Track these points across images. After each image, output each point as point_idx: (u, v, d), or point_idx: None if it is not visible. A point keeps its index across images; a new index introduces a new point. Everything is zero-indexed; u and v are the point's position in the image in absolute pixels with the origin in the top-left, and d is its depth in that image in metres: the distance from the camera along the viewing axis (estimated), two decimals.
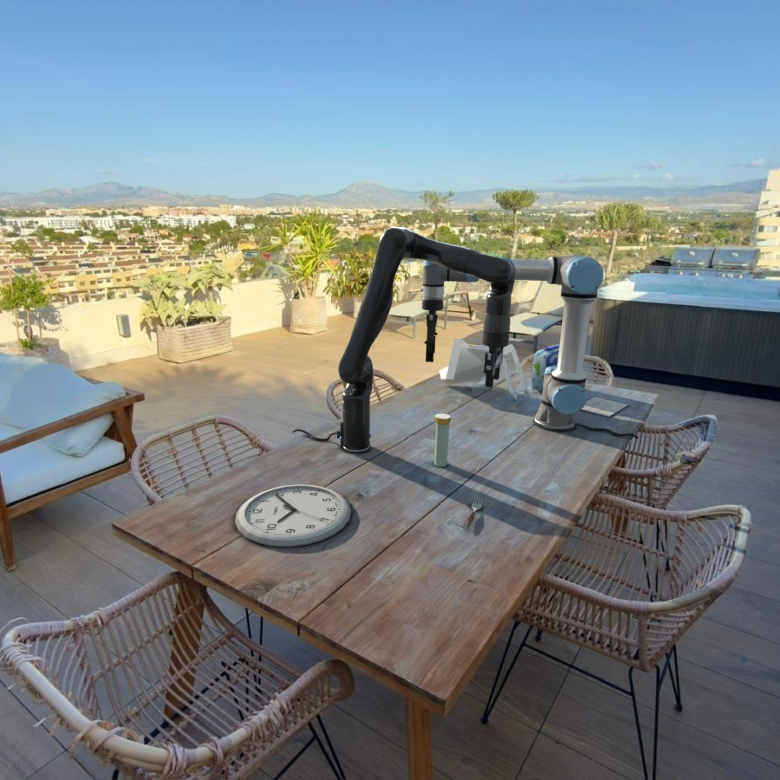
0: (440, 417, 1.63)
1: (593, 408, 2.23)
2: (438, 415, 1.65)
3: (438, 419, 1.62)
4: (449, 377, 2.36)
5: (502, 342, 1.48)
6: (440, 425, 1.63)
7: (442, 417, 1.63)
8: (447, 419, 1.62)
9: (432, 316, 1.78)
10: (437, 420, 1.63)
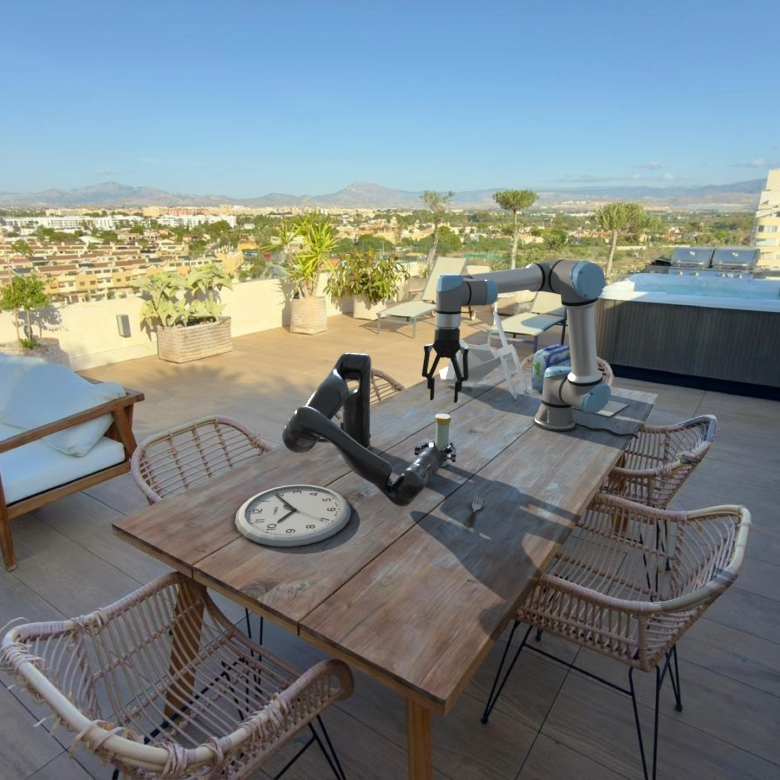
0: (440, 417, 1.63)
1: None
2: (438, 415, 1.65)
3: (438, 419, 1.62)
4: (449, 377, 2.36)
5: (439, 453, 1.56)
6: (440, 425, 1.63)
7: (442, 417, 1.63)
8: (447, 419, 1.62)
9: None
10: (437, 420, 1.63)
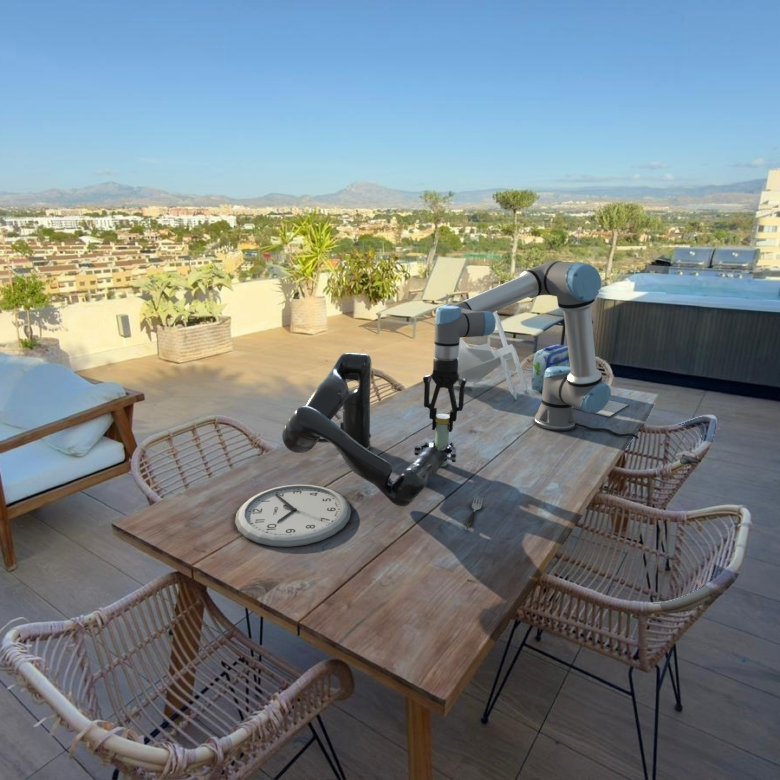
0: (440, 417, 1.63)
1: None
2: (438, 415, 1.65)
3: (438, 419, 1.62)
4: None
5: (439, 453, 1.56)
6: (440, 425, 1.63)
7: (442, 417, 1.63)
8: (447, 419, 1.62)
9: None
10: (437, 420, 1.63)
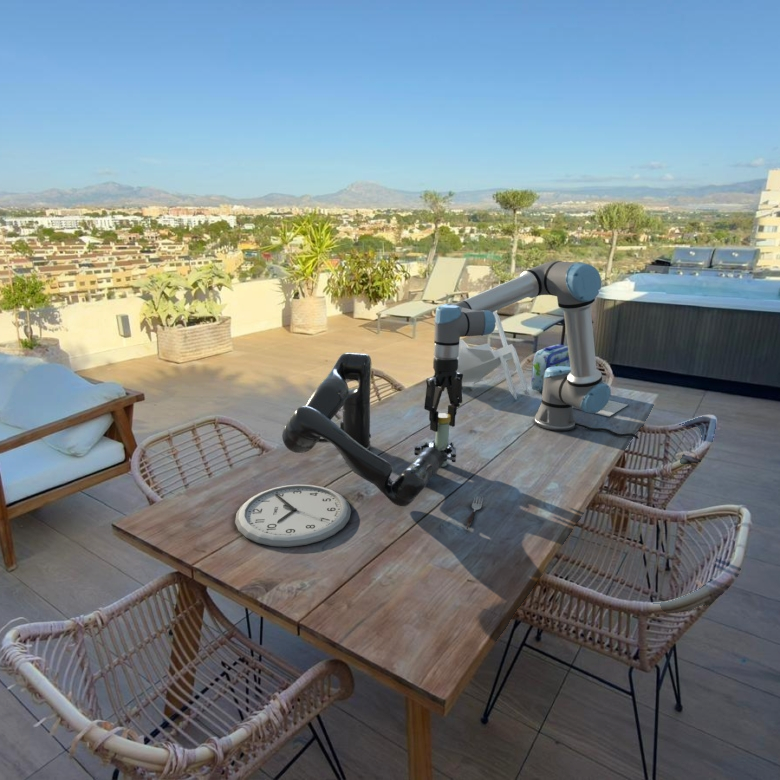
0: (447, 416, 1.63)
1: None
2: (442, 417, 1.63)
3: (450, 418, 1.63)
4: None
5: (439, 453, 1.56)
6: (440, 425, 1.63)
7: (446, 415, 1.64)
8: None
9: (429, 381, 1.56)
10: (449, 419, 1.63)
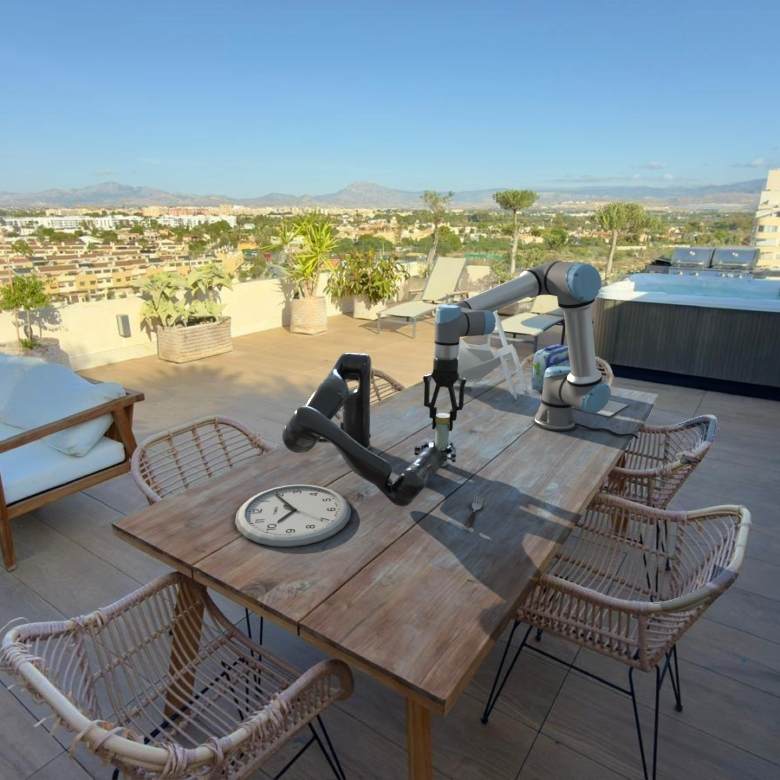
0: (447, 416, 1.63)
1: None
2: (442, 417, 1.63)
3: None
4: None
5: (439, 453, 1.56)
6: (440, 425, 1.63)
7: (446, 415, 1.64)
8: None
9: None
10: (449, 419, 1.63)
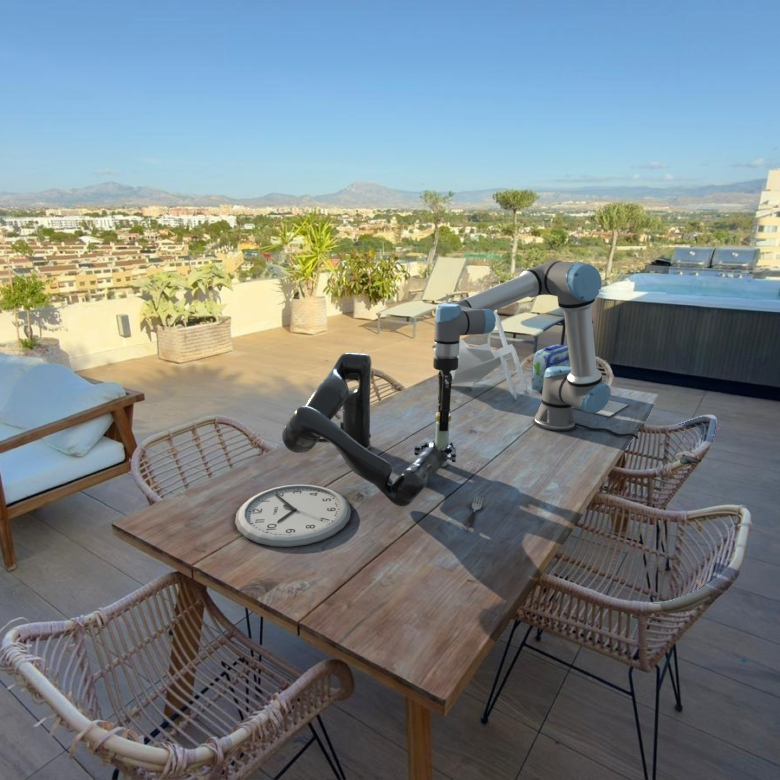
0: None
1: None
2: None
3: None
4: None
5: (439, 453, 1.56)
6: None
7: None
8: None
9: (448, 384, 1.54)
10: None
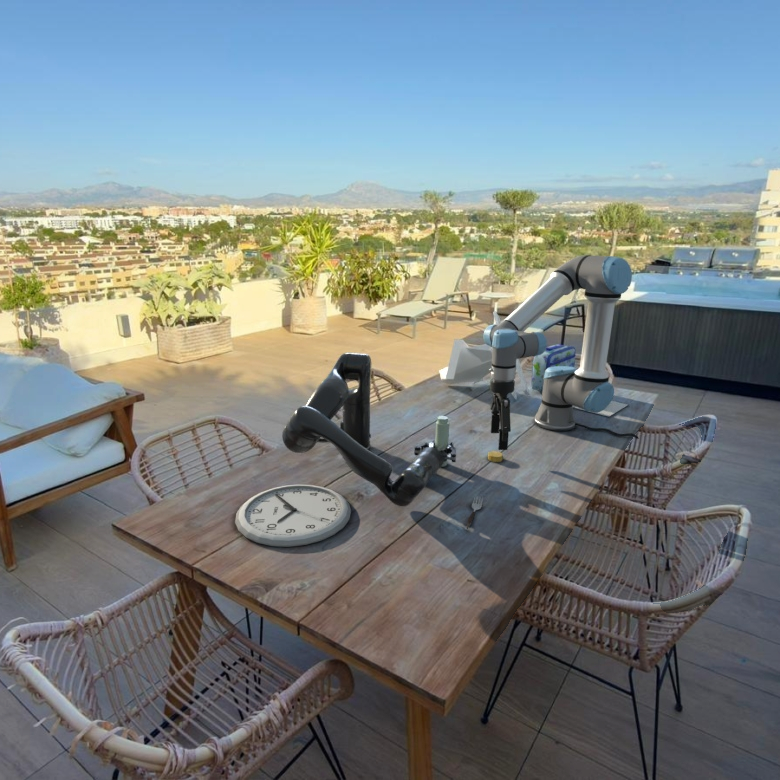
0: (495, 452, 1.74)
1: None
2: (499, 453, 1.73)
3: None
4: (449, 377, 2.36)
5: (439, 453, 1.56)
6: (440, 425, 1.63)
7: (493, 452, 1.74)
8: None
9: (507, 401, 1.60)
10: None
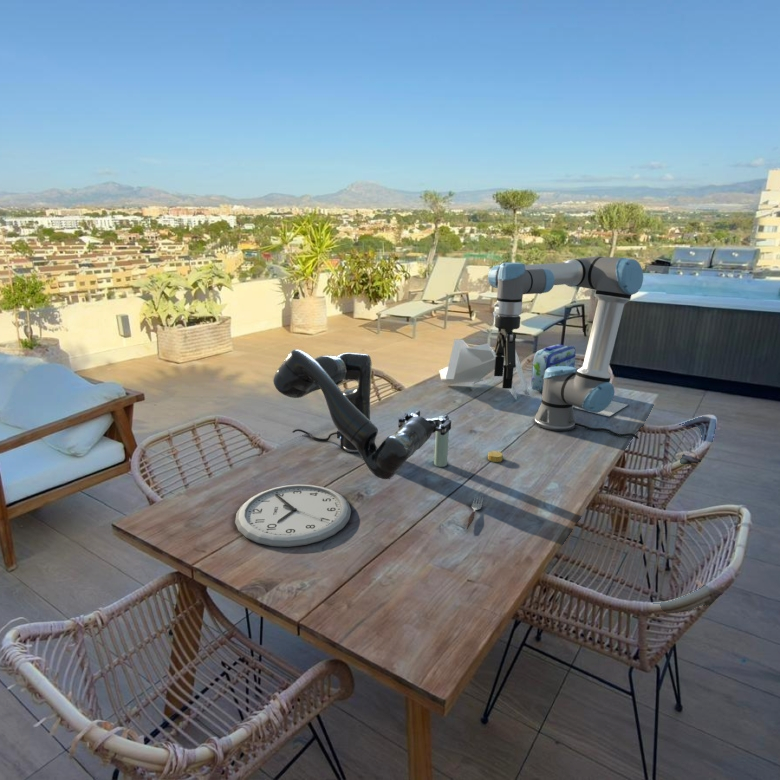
0: (495, 452, 1.74)
1: None
2: (499, 453, 1.73)
3: None
4: (449, 377, 2.36)
5: (427, 422, 1.40)
6: None
7: (493, 452, 1.74)
8: None
9: (512, 336, 1.54)
10: None
